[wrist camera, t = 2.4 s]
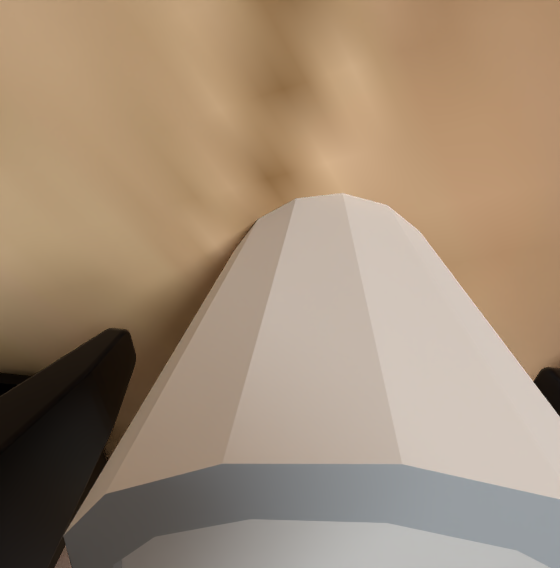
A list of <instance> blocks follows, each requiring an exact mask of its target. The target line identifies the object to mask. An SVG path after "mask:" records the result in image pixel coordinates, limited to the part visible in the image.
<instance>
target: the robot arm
mask: <svg viewBox="0 0 560 568" xmlns="http://www.w3.org/2000/svg"><path fill="white" fill-rule="evenodd" d="M135 362H136V354H135V350H134V347H133V343H132V339H131V335H130V333H129V331H128V330H125V329H116V328H109V329H107V330H105V331H103V332H102V333H100V334H99V335H97V336H95V337H94V338H92V339H91V340H89V341H87V342H86V343H84V344H83V345H81V346H79V347H78V348H76V349H75V350H73V351H71V352H70V353H68V354H67V355H65V356H64V357H62V358H60V359H59V360H57V361H56V362H54V363H52V364H51V365H49V366H48V367H46V368H44V369H43V370H41V371H40V372H38V373H36V374H35V375H33V376H32V377H31V376H21V375H11V374H0V568H54V567H55V565H56V563H57V561H58V559H59V557H60V555H61V553H62V551H63V549H64V547H65V545H66V544H65V541H64V537H63V535H64V534H65V532H66V530H67V529H68V527H69V525H70V524H71V522H72V520H73V519H74V517H75V515H76V514H77V512H78V510H79V509H80V507H81V505H82V504H83V502H84V500H85V499H86V497H87V495H88V494H89V492H90V490H91V489H92V487H93V485H94V484H95V482H96V480H97V479H98V477H99V475H100V474H101V472H102V470H103V469H104V467H105V465H106V464H107V460H106V458H105V456H104V453H103V449H104V447H105V445H106V443H107V440H108V438H109V436H110V434H111V431H112V429H113V427H114V424H115V422H116V419H117V416H118V413H119V410H120V407H121V404H122V402H123V399H124V396H125V393H126V390H127V387H128V384H129V381H130V378H131V375H132V372H133V369H134V367H135ZM533 382H534V383H535V385H536V386H537V387H538V389H539V390H540V391H541V393H542V394H543V395H544V397H545V398H546V399H547V401H548V402H549V403H550V405H551V406H552V407H553V409H554V410H555V411H556V413H557V414H558V415H559V416H560V368H551V367H546V368H544V369H542V370H541V371H540V372H539V374H538V375H537V377H536V378H535V380H534V381H533Z"/></svg>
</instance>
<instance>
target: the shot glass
mask: <svg viewBox="0 0 560 568" xmlns="http://www.w3.org/2000/svg"><path fill="white" fill-rule="evenodd" d="M63 537H64V541H65V544H66V548H67V552H68V555H69V559H70V562H71V566H72V568H560V416H559V415H558V414H557V413H556V411H555V410H554V409H553V407H552V406H551V405H550V403H549V402H548V401H547V399H546V398H545V397H544V395H543V394H542V393H541V391H540V390H539V389H538V387H537V386H536V385H535V383H534V382H533V381H532V379H531V378H530V377H529V375H528V374H527V373H526V371H525V370H524V369H523V367H522V366H521V365H520V363H519V362H518V361H517V360H516V358H515V357H514V356H513V354H512V353H511V352H510V350H509V349H508V348H507V346H506V345H505V344H504V342H503V341H502V340H501V338H500V337H499V336H498V334H497V333H496V332H495V330H494V329H493V328H492V326H491V325H490V324H489V322H488V321H487V320H486V318H485V317H484V316H483V314H482V313H481V312H480V311H479V309H478V308H477V307H476V305H475V304H474V303H473V301H472V300H471V299H470V297H469V296H468V295H467V293H466V292H465V291H464V289H463V288H462V287H461V285H460V284H459V283H458V281H457V280H456V279H455V277H454V276H453V275H452V273H451V272H450V271H449V269H448V268H447V267H446V265H445V264H444V263H443V262H442V260H441V259H440V258H439V256H438V255H437V254H436V252H435V251H434V250H433V248H432V247H431V246H430V244H429V243H428V242H427V240H426V239H425V238H424V236H423V235H422V234H421V232H420V231H419V230H417V229H416V228H415V227H414V226H413V225H411V224H410V223H409V222H408V221H406V220H405V219H404V218H403V217H401V216H400V215H399V214H398V213H396V212H395V211H394V210H393V209H391V208H390V207H389V206H388V205H385V204H381V203H378V202H374V201H370V200H366V199H363V198H359V197H355V196H352V195H348V194H344V193H339V194H331V195H322V196H313V197H305V198H296V199H294V200H292V201H291V202H289V203H287V204H285V205H283V206H281V207H280V208H278V209H276V210H274V211H272V212H270V213H268V214H267V215H265V216H263V217H261V218H259V219H258V220H257V221H256V223H255V224H254V225H253V226H252V228H251V229H250V230H249V232H248V233H247V234H246V236H245V237H244V238H243V239H242V241H241V242H240V243H239V245H238V246H237V247H236V249H235V250H234V252H233V253H232V255H231V257H230V258H229V260H228V262H227V263H226V265H225V267H224V268H223V270H222V272H221V273H220V275H219V277H218V278H217V280H216V282H215V283H214V285H213V287H212V288H211V290H210V292H209V293H208V295H207V297H206V298H205V300H204V302H203V303H202V305H201V307H200V308H199V310H198V312H197V313H196V315H195V317H194V318H193V320H192V322H191V323H190V325H189V327H188V328H187V330H186V332H185V333H184V335H183V337H182V338H181V340H180V342H179V343H178V345H177V347H176V349H175V350H174V352H173V354H172V355H171V357H170V359H169V360H168V362H167V364H166V365H165V367H164V369H163V370H162V372H161V374H160V375H159V377H158V379H157V380H156V382H155V384H154V385H153V387H152V389H151V390H150V392H149V394H148V395H147V397H146V399H145V400H144V402H143V404H142V405H141V407H140V409H139V410H138V412H137V414H136V415H135V417H134V419H133V420H132V422H131V424H130V425H129V427H128V429H127V430H126V432H125V434H124V435H123V437H122V439H121V440H120V442H119V444H118V445H117V447H116V449H115V450H114V452H113V454H112V455H111V457H110V459H109V460H108V462H107V464H106V465H105V467H104V469H103V470H102V472H101V474H100V475H99V477H98V479H97V480H96V482H95V484H94V485H93V487H92V489H91V490H90V492H89V494H88V495H87V497H86V499H85V500H84V502H83V504H82V505H81V507H80V509H79V510H78V512H77V514H76V515H75V517H74V519H73V520H72V522H71V524H70V525H69V527H68V529H67V530H66V532H65V534H64V535H63Z"/></svg>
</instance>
